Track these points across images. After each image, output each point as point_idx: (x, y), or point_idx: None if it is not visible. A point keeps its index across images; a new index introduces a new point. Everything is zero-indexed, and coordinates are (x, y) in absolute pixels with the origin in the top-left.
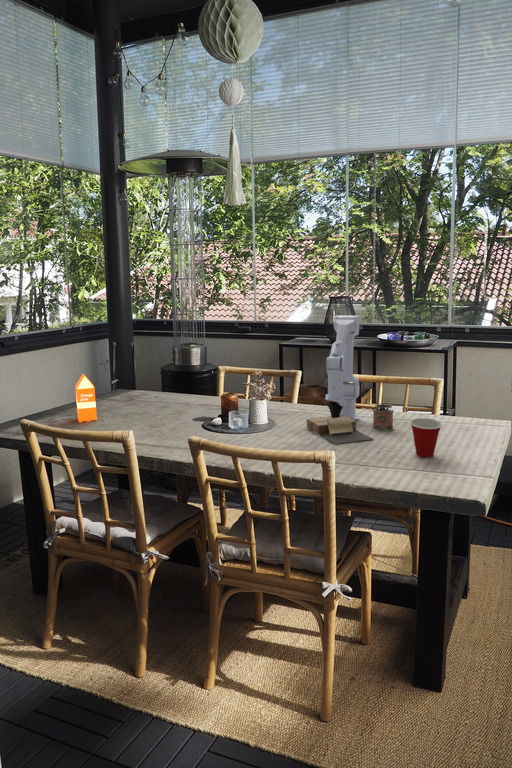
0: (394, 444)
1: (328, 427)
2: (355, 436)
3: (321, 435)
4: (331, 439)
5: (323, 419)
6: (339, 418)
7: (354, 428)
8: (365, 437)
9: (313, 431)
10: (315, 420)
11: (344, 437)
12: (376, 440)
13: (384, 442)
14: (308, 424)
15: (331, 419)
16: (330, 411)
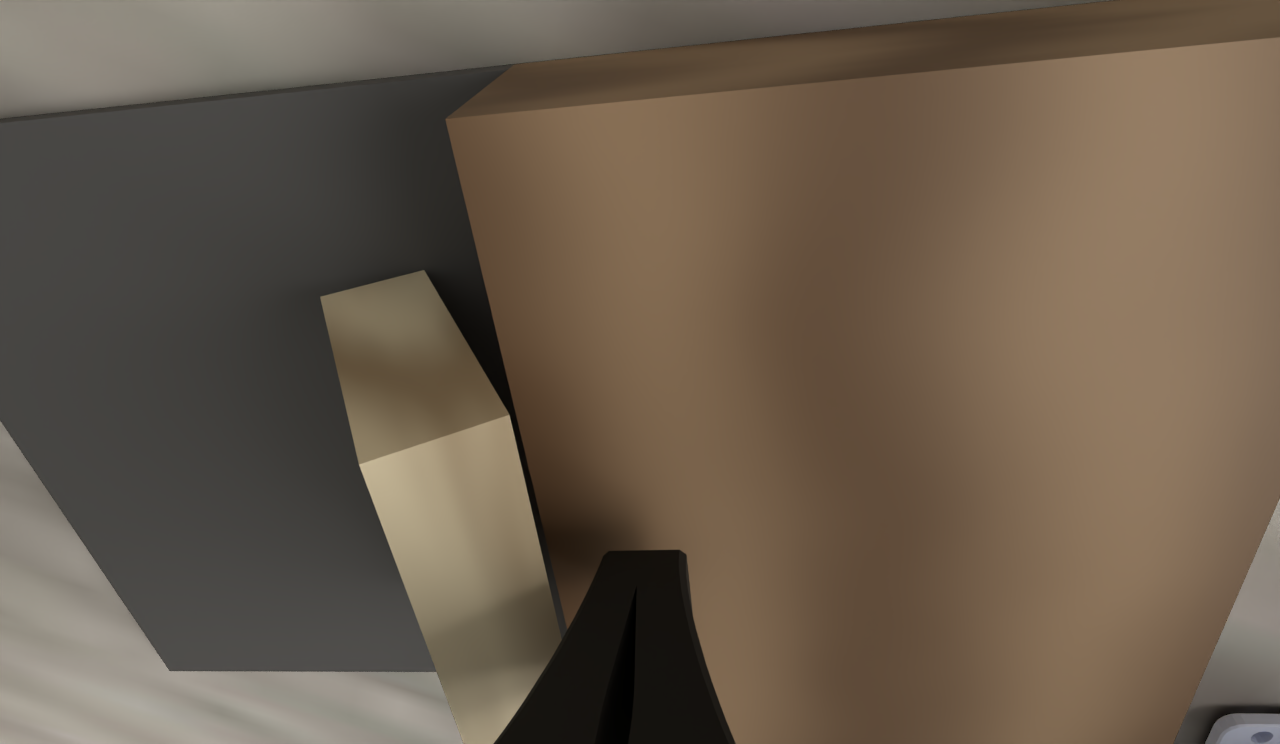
0: (28, 735)
1: (454, 330)
2: (290, 561)
3: (409, 93)
4: (101, 186)
5: (1039, 442)
6: (436, 670)
7: None
8: (234, 632)
9: (825, 35)
10: (1069, 225)
11: (240, 423)
12: (174, 675)
13: (96, 701)
14: (1210, 12)
15: (381, 510)
16: (701, 721)
